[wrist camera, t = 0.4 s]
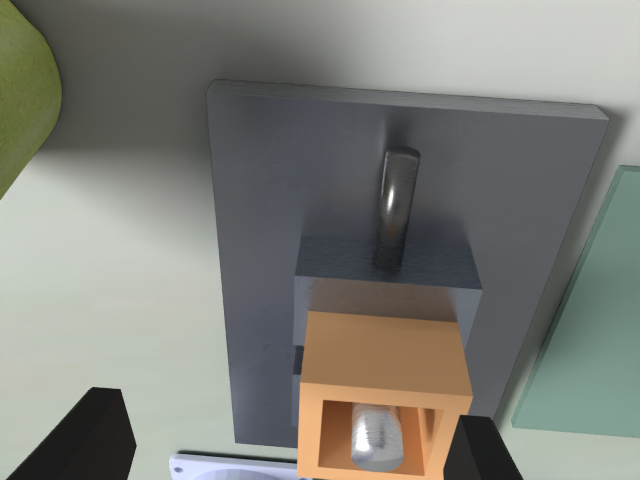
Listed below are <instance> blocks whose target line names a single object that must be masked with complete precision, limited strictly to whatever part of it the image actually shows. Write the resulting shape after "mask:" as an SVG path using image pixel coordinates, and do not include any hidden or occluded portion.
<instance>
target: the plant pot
mask: <svg viewBox="0 0 640 480" xmlns="http://www.w3.org/2000/svg"><path fill="white" fill-rule="evenodd" d="M61 102H62V87H61V81H60V75H59V71H58V68H57V65H56V62H55V59H54V56H53V54H52V51H51V49H50V47H49V45H48V44H47V42H46V40H45V38H44V37H43V36H42V34H41V33H40V32H39V31H38V30H37V29H36V28H35V27H34V26H33V25H32V24H31V23H30V22H28V20H27V19H26V18H25V17H24V16H23V15H22V14H21V13H20V12H19V11H18V10H17V8H16V7H15V6H14V5H13V4H12V3H11V2H10V1H9V0H0V200H1V198H2V197H3V196H4V194H5V193H6V192H7V190H8V189H9V188H10V186H11V185H12V184H13V182H14V181H15V180H16V178H17V177H18V176H19V174H20V173H21V171H22V170H23V169H24V167H25V166H26V165H27V164H28V162H29V161H30V160H31V158H32V157H33V156H34V155H35V153H36V152H37V150H38V149H39V148H40V146H41V145H42V144H43V143H44V141H45V140H46V139H47V137H48V136H49V134H50V133H51V132H52V130H53V128H54V126H55V124H56V122H57V120H58V117H59V113H60V108H61Z"/></svg>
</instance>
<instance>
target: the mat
mask: <svg viewBox="0 0 640 480" xmlns="http://www.w3.org/2000/svg"><path fill="white" fill-rule="evenodd" d="M511 422H512V426H513V428H524V429H536V430H548V431H560V432H572V433H584V434H596V435H608V436H620V437H632V438H640V167H634V166H620V165H619V167H618V170H617V172H616V175H615V177H614V179H613V182H612V184H611V186H610V189H609V191H608V193H607V196H606V198H605V200H604V203H603V205H602V207H601V210H600V212H599V215H598V217H597V219H596V222H595V224H594V226H593V229H592V231H591V233H590V236H589V238H588V240H587V243H586V245H585V248H584V250H583V252H582V255H581V257H580V259H579V262H578V264H577V266H576V269H575V271H574V273H573V276H572V278H571V280H570V283H569V285H568V288H567V290H566V292H565V295H564V297H563V299H562V302H561V304H560V306H559V309H558V311H557V313H556V316H555V318H554V320H553V323H552V325H551V328H550V330H549V332H548V335H547V337H546V339H545V342H544V344H543V346H542V349H541V351H540V353H539V356H538V358H537V360H536V363H535V365H534V368H533V370H532V372H531V375H530V377H529V379H528V382H527V384H526V386H525V389H524V391H523V393H522V396H521V398H520V401H519V403H518V405H517V408H516V410H515V412H514V415H513V417H512V419H511Z"/></svg>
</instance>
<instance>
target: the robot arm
mask: <svg viewBox="0 0 640 480" xmlns="http://www.w3.org/2000/svg"><path fill="white" fill-rule="evenodd" d="M136 447H137V445H136V442H135V438H134V435H133V431H132V428H131V424H130V421H129V417H128V414H127V410H126V407H125V403H124V400H123V396H122V392H121V389H112V388H98V387H92V388H91V389H89V390H88V391H87V393H86V394H85V395H84V396H83V397H82V398H81V399H80V400H79V401H78V403H77V404H76V405H75V406H74V407H73V408H72V409H71V410H70V411H69V413H68V414H67V415H66V416H65V417H64V418H63V419H62V420H61V421H60V423H59V424H58V425H57V426H56V427H55V428H54V429H53V430H52V431H51V432H50V434H49V435H48V436H47V437H46V438H45V439H44V440H43V441H42V442H41V443H40V444H39V445H38V447H37V448H36V449H35V450H34V451H33V452H32V453H31V454H30V455H29V456H28V457H27V458H26V459H25V460H24V461H23V462H22V463H21V464H20V465H19V466H18V467H17V469H16V470H15V471H14V472H13V473H12V474H11V475H10V476H9V477H8V478H7V479H6V480H127V478H128V475H129V472H130V468H131V465H132V461H133V457H134V454H135V450H136ZM169 466H170V471H171V475H172V480H313V478H307V477H297V464H293V463H282V462H270V461H258V460H247V459H235V458H223V457H212V456H200V455H188V454H173V455H172V456H171V457H170V460H169ZM443 478H444V480H523V478H522V476H521V474H520V472H519V471H518V469H517V467H516V465H515V463H514V461H513V459H512V457H511V456H510V454H509V452H508V450H507V448H506V446H505V444H504V442H503V440H502V438H501V436H500V434H499V432H498V430H497V428H496V426H495V424H494V422H493V420H492V419H491V418H490V417H485V416H471V415H460V416H459V419H458V422H457V425H456V429H455V432H454V435H453V439H452V442H451V445H450V448H449V452H448V455H447V458H446V462H445V465H444V468H443Z"/></svg>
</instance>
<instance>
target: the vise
mask: <svg viewBox="0 0 640 480" xmlns="http://www.w3.org/2000/svg"><path fill="white" fill-rule="evenodd" d="M205 94H206V106H207V117H208V129H209V141H210V153H211V164H212V176H213V188H214V199H215V211H216V223H217V235H218V246H219V258H220V270H221V282H222V293H223V305H224V317H225V328H226V340H227V352H228V364H229V375H230V387H231V399H232V411H233V422H234V434H235V443H241V444H253V445H264V446H276V447H288V448H298V429H299V401H300V379H301V371H302V363H303V354H304V346H305V337H306V329H307V320H308V312H309V311H315V312H328V313H341V314H354V315H367V316H379V317H392V318H405V319H418V320H431V321H444V322H456V323H458V326H459V331H460V336H461V341H462V345H463V350H464V355H465V360H466V364H467V369H468V374H469V379H470V383H471V388H472V393H473V399H472V402H471V405H470V408H469V411H468V414H467V415H471V416H485V417H490V418H491V419H492V420H493V418H494V415H495V413H496V410H497V408H498V405H499V403H500V400H501V397H502V395H503V392H504V390H505V387H506V385H507V382H508V380H509V377H510V374H511V372H512V369H513V367H514V364H515V362H516V359H517V357H518V354H519V351H520V349H521V346H522V344H523V341H524V339H525V336H526V334H527V331H528V328H529V326H530V323H531V321H532V318H533V316H534V313H535V311H536V308H537V305H538V303H539V300H540V298H541V295H542V293H543V290H544V287H545V285H546V282H547V280H548V277H549V275H550V272H551V270H552V267H553V264H554V262H555V259H556V257H557V254H558V252H559V249H560V247H561V244H562V241H563V239H564V236H565V234H566V231H567V229H568V226H569V224H570V221H571V218H572V216H573V213H574V211H575V208H576V206H577V203H578V200H579V198H580V195H581V193H582V190H583V188H584V185H585V183H586V180H587V177H588V175H589V172H590V170H591V167H592V165H593V162H594V160H595V157H596V154H597V152H598V149H599V147H600V144H601V142H602V139H603V137H604V134H605V131H606V129H607V126H608V124H609V121H610V120H609V119H608V117H607V116H606V115H605V114H604V113H603V112H602V111H601V110H600V109H599V108H598V107H597V106H596V105H589V104H574V103H559V102H544V101H529V100H514V99H499V98H484V97H469V96H454V95H439V94H424V93H409V92H394V91H379V90H364V89H349V88H334V87H319V86H304V85H289V84H274V83H259V82H244V81H229V80H214V81H213V82H212V84H211V85H210V87H209V88H208V90H207V91H206V93H205ZM351 458H352V461H353V463H354V464H355V465H356V466H358V467H359V468H361V469H363V470H366V471H371V472H386V471H391V470H393V469H396V468H397V467H399V466H400V465H401V464H402V462H403V460H404V455H403V441H402V427H401V413H400V406H394V405H382V404H369V403H357V402H352V450H351Z"/></svg>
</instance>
